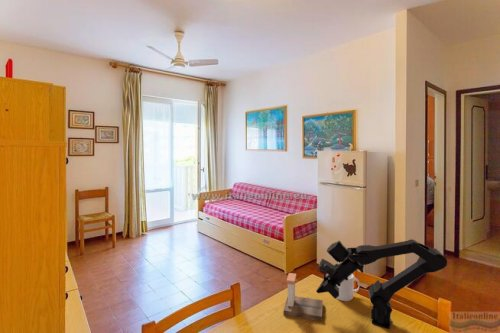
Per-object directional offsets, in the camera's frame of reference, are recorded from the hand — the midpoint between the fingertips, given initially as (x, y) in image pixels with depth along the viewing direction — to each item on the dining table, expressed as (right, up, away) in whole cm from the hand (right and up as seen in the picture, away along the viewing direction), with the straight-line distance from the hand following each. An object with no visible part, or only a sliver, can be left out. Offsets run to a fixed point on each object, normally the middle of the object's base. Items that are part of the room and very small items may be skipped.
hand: (317, 292), depth 119 cm
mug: (+17, -8, +12) cm, 22 cm away
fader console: (-5, -9, +2) cm, 10 cm away
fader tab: (-10, -6, +4) cm, 13 cm away
